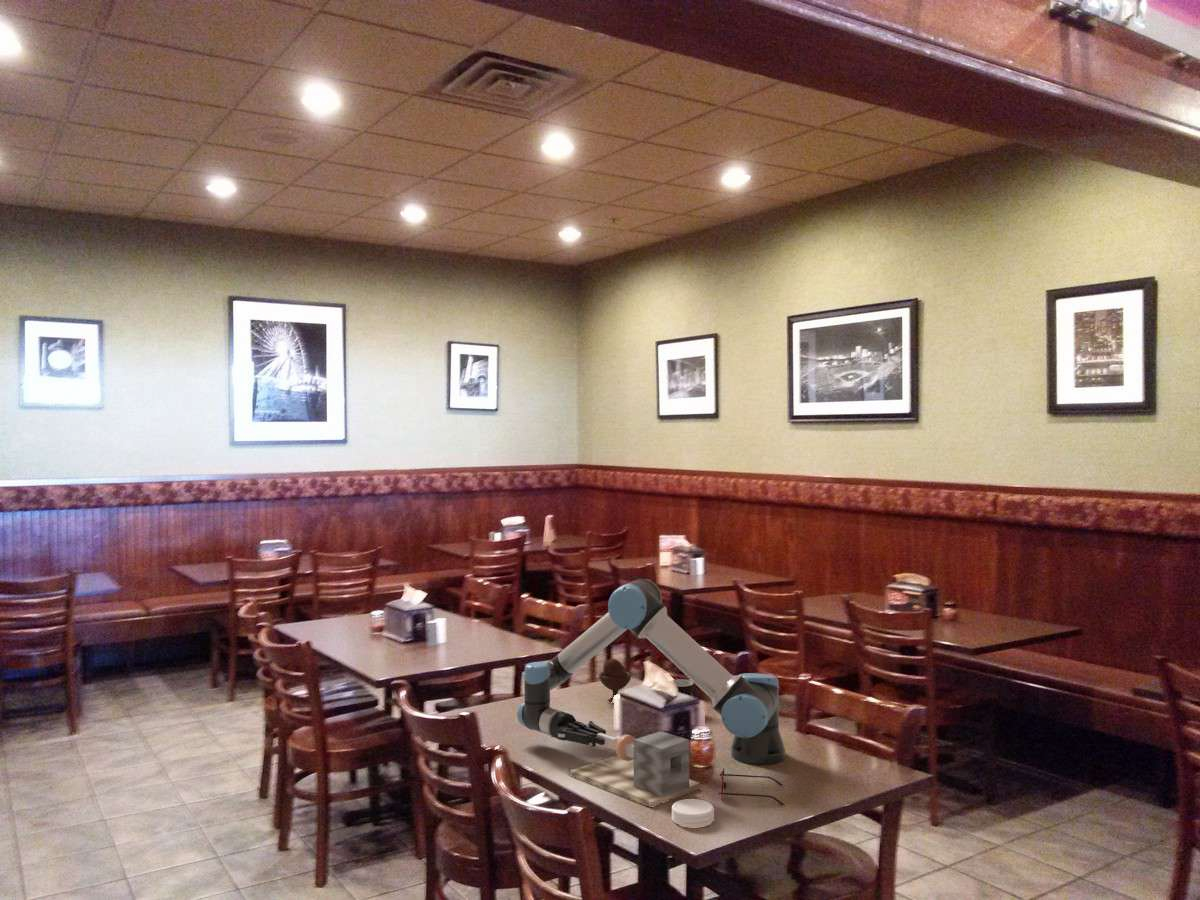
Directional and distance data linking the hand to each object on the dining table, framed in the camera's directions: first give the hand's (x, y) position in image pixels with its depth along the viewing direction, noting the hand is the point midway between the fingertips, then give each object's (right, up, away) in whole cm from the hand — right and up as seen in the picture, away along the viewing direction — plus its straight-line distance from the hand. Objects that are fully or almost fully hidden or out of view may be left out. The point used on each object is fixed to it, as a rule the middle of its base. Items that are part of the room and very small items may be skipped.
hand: (615, 743), depth 246 cm
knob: (+7, -3, -8) cm, 11 cm away
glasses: (+34, -9, -13) cm, 38 cm away
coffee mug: (+23, -8, +57) cm, 62 cm away
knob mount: (+5, -8, -5) cm, 11 cm away
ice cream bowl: (+1, -8, +70) cm, 70 cm away
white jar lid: (+18, -9, -29) cm, 36 cm away
